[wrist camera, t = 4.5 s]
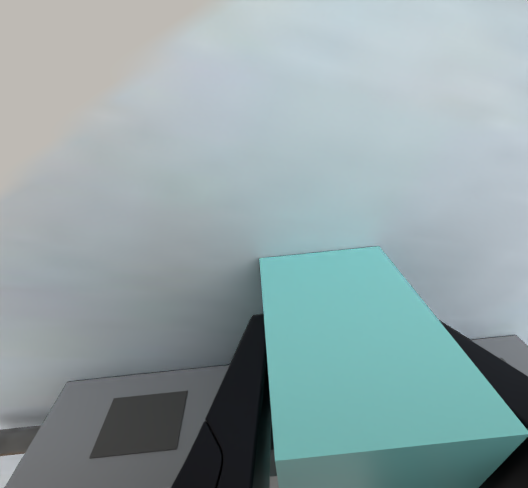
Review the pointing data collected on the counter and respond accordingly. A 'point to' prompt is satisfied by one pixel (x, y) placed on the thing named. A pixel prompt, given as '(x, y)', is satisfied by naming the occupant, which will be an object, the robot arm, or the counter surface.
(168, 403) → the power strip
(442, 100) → the counter surface
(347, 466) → the block
